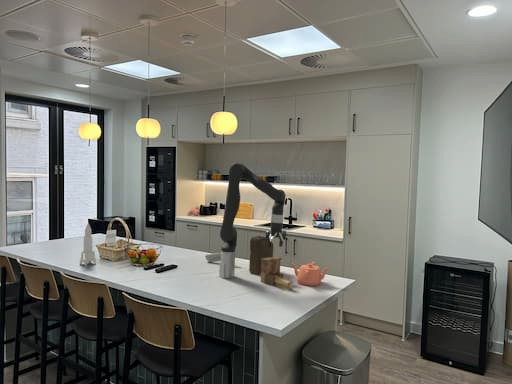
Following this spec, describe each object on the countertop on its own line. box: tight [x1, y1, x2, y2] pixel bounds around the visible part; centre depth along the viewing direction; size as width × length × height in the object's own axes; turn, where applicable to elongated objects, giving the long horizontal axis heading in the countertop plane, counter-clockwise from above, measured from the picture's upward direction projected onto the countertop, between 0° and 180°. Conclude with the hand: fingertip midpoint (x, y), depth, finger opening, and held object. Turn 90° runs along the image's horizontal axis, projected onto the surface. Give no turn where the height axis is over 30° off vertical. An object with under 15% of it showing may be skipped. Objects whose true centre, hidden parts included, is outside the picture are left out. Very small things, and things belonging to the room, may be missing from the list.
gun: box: [204, 252, 221, 263], centre depth 280 cm, size 2×25×10 cm, turn 66°
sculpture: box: [79, 222, 97, 267], centre depth 266 cm, size 7×8×30 cm
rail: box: [274, 275, 293, 292], centre depth 230 cm, size 4×17×5 cm, turn 34°
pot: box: [291, 261, 330, 287], centre depth 239 cm, size 18×17×12 cm
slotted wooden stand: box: [260, 256, 285, 286], centre depth 237 cm, size 13×10×15 cm
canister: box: [248, 235, 274, 275], centre depth 262 cm, size 19×8×25 cm, turn 142°
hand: (275, 246), depth 236 cm, fingers open, 8 cm apart
